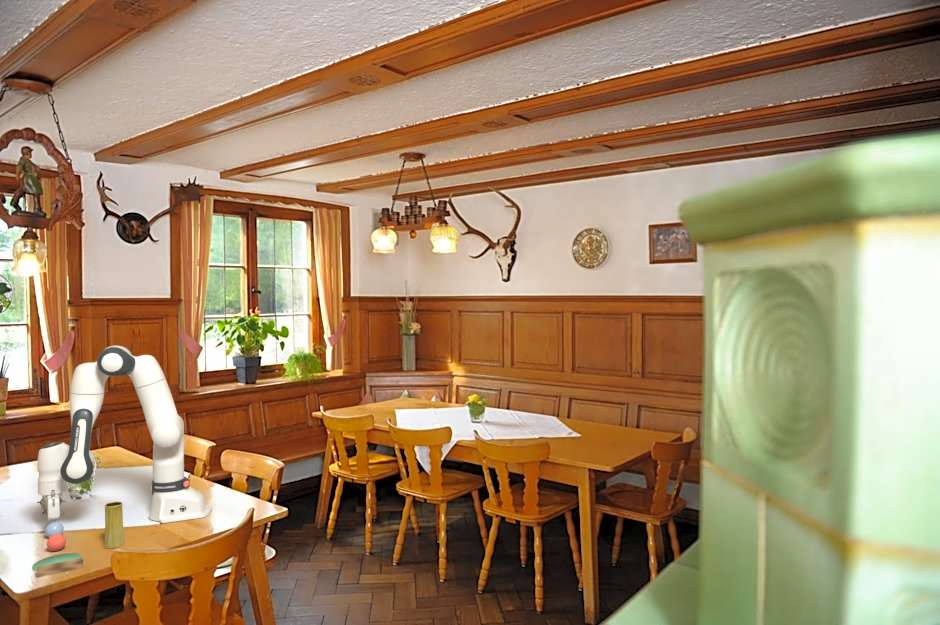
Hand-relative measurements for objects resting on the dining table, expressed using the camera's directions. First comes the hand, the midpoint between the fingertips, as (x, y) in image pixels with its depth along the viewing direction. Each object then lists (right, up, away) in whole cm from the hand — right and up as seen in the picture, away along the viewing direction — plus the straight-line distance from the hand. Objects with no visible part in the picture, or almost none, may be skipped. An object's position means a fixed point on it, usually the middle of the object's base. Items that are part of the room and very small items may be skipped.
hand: (52, 524), depth 235 cm
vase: (+31, -2, -15) cm, 34 cm away
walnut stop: (+25, -3, -35) cm, 44 cm away
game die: (-13, -2, +20) cm, 24 cm away
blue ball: (+6, +1, -8) cm, 10 cm away
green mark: (+21, -3, -29) cm, 36 cm away
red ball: (+14, 0, -19) cm, 24 cm away
